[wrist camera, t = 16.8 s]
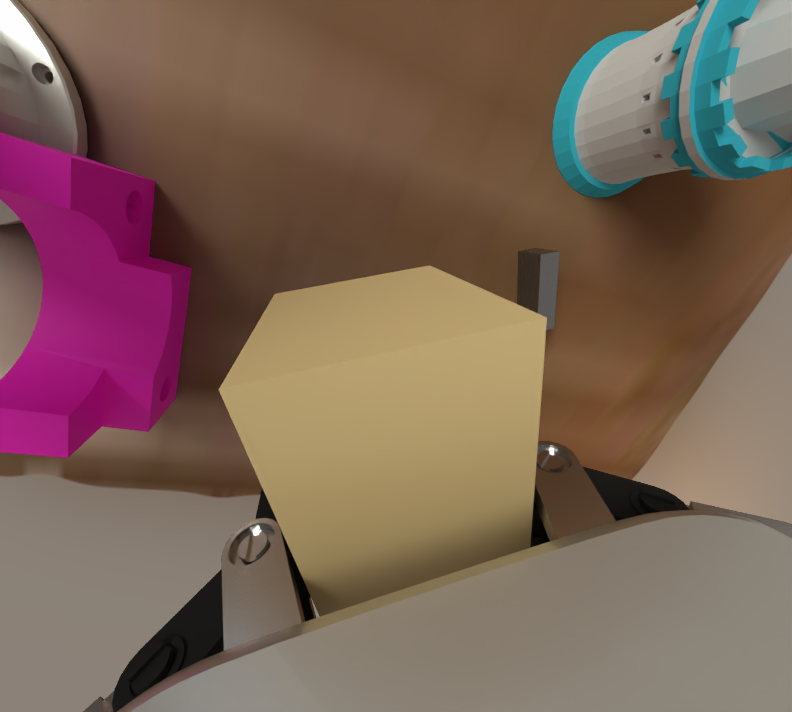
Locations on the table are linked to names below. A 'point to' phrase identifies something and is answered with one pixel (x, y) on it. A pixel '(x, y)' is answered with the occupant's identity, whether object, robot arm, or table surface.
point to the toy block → (89, 303)
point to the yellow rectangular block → (392, 428)
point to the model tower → (681, 99)
